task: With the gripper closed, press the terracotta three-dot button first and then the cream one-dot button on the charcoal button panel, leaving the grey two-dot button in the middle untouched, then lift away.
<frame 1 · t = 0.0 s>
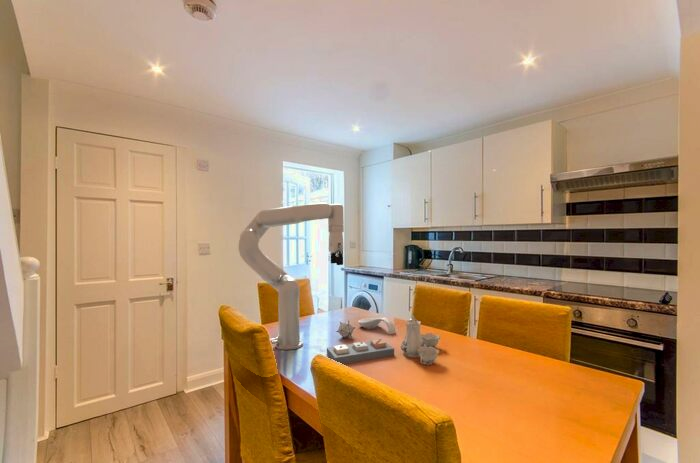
hand: (336, 264, 159), 37 cm above the table, tool pointing down, fingers open, 9 cm apart
button panel: (360, 355, 137), on the table
button two: (360, 347, 137), point 3 cm above the table, slide at 0.0 cm
chinaware: (420, 355, 137), on the table
button one: (341, 349, 134), point 3 cm above the table, slide at 0.0 cm
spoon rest: (376, 329, 173), on the table
spiky ball: (346, 338, 160), on the table
button three: (378, 344, 140), point 3 cm above the table, slide at 0.0 cm
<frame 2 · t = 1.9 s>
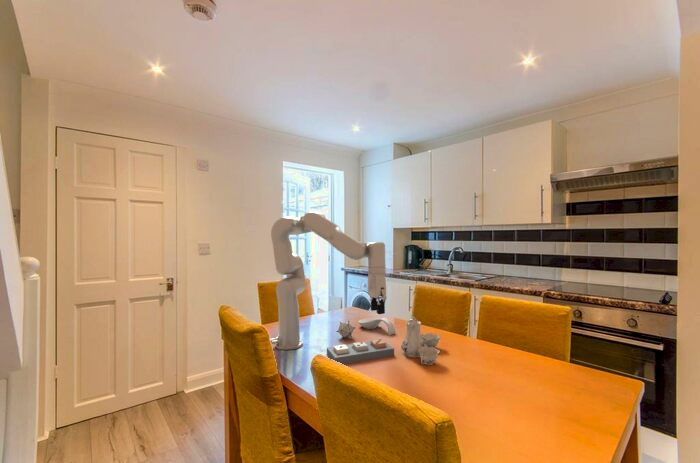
hand: (377, 311, 140), 18 cm above the table, tool pointing down, fingers open, 6 cm apart
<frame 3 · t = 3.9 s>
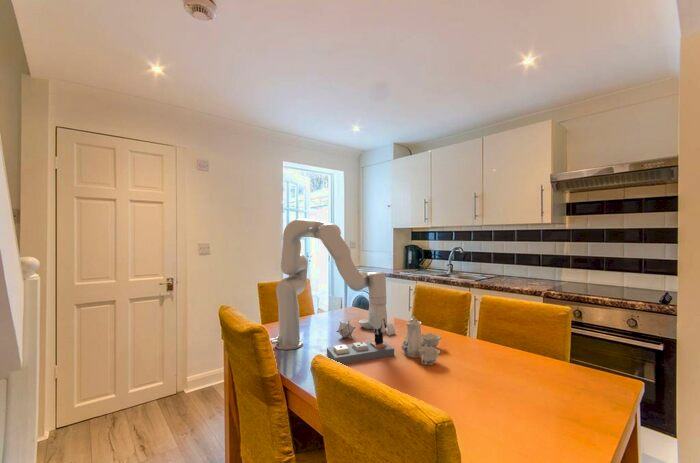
hand: (378, 342, 140), 4 cm above the table, tool pointing down, fingers closed
button three: (378, 345, 140), point 3 cm above the table, slide at 0.7 cm, touching gripper
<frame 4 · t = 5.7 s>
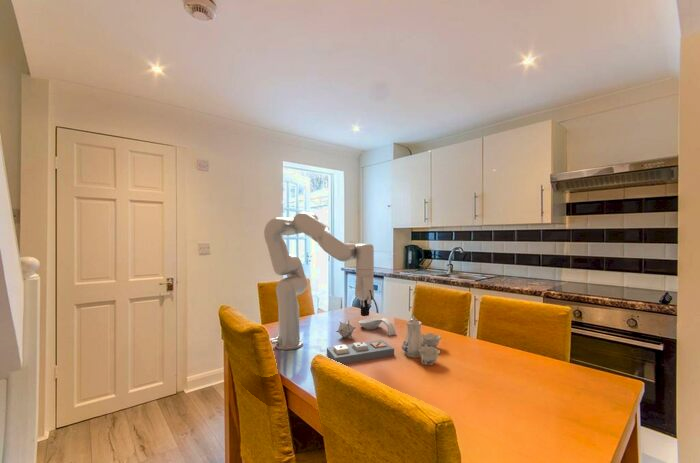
hand: (364, 315, 138), 17 cm above the table, tool pointing down, fingers closed
button three: (378, 346, 140), point 2 cm above the table, slide at 1.1 cm
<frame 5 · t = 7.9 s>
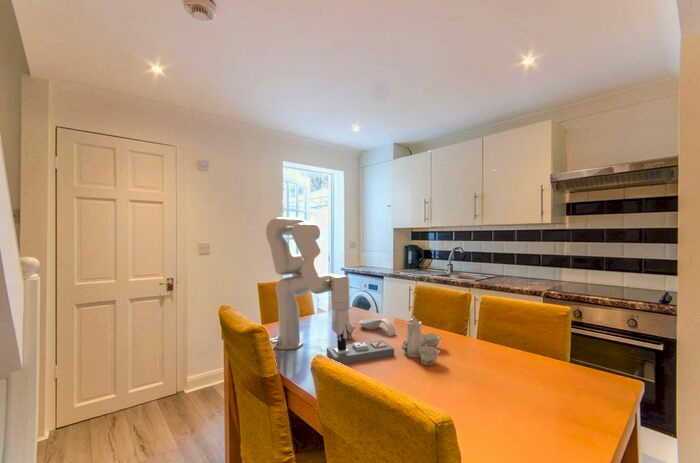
hand: (341, 349, 134), 4 cm above the table, tool pointing down, fingers closed
button one: (341, 352, 134), point 2 cm above the table, slide at 1.1 cm, touching gripper
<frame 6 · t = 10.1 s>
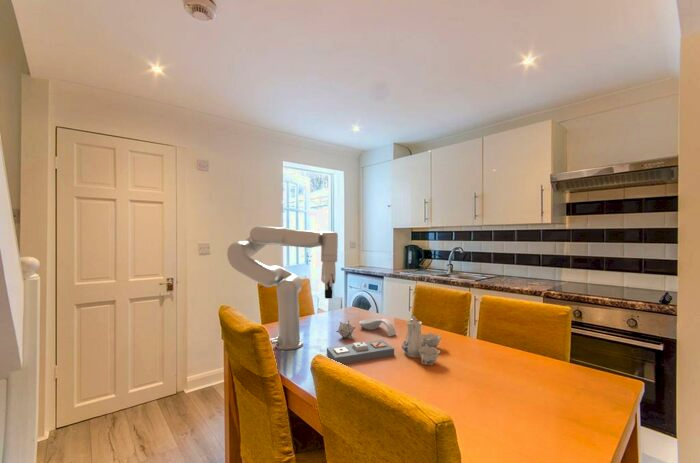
hand: (328, 297, 149), 22 cm above the table, tool pointing down, fingers closed
button one: (341, 352, 134), point 2 cm above the table, slide at 1.1 cm
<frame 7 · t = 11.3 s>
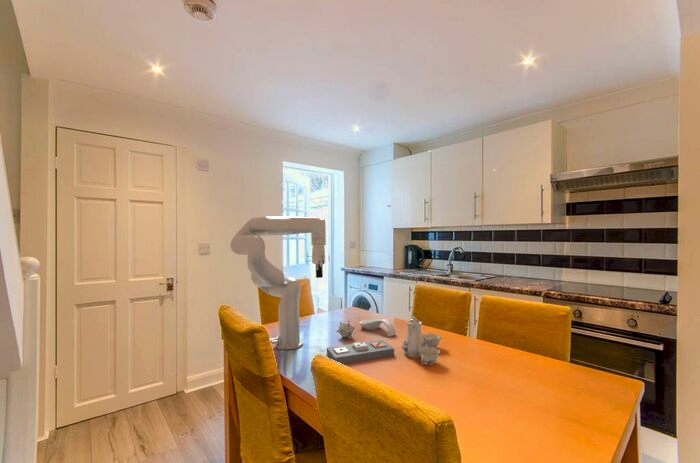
hand: (319, 277, 168), 29 cm above the table, tool pointing down, fingers closed
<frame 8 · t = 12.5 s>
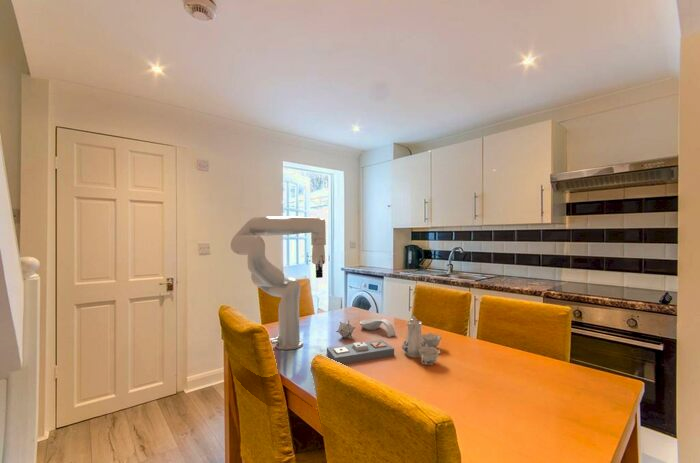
hand: (319, 277, 168), 29 cm above the table, tool pointing down, fingers closed
at the end: button three slide at 1.1 cm; button one slide at 1.1 cm; button two slide at 0.0 cm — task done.
